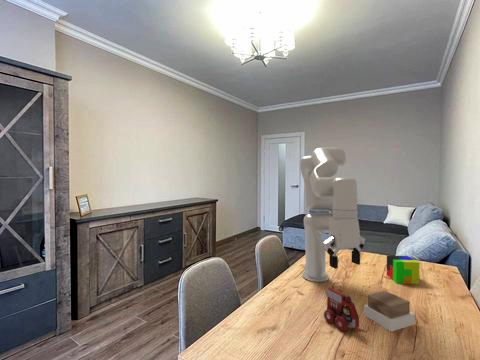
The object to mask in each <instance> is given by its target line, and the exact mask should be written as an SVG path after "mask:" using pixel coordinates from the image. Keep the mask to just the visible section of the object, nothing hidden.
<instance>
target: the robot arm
mask: <svg viewBox="0 0 480 360" xmlns="http://www.w3.org/2000/svg"><path fill="white" fill-rule="evenodd" d="M346 160H347V154H346V152H345V150H344V149H343V148H341V147H339V146H338V147H335V146H334V147H318V148H316V149H314V150H312V153H311V155H306V156H303V157H302V158H301V159H300V164H299V165H300V168H299V169H300V172H301V175H302V178H303V181H304V187H305V188H304V189H305V190H304V192H305V193H304V194H305V205H306V208H307V209H308V210H309V211H328V212H327V213H322V212H315V213H314V212H313V213H312V212H311V213H307V214H305V216H304V217H303V228H304V235H305V236H304V237H305V238H304V239H305V264H304V265H302V268H303V269H304V271H303V272H302V278H303V279H305V280H306V279H307V281H310V282H315V283H322V282H327V281H329V279H330V278H329V277H330V275H329V274H328V273H327V272H326V271H327V270H326V268H327V267H326V263H327V261H326V257H327V256H326V253H327V255H329V267H331V268H333V269H337V270H338V268H339V262H338V261H339V256H337V255H338V253H339V252H340V251H344V250H351V263H353V264H355V265H358V266H359V265H361V253H362V251H363V250H362V249H363V248H364V244H365V242H366V238H364V237H363V236H361V235H360V234H361V231H360V224H359V222H360V221H359V218H358V214H359V211H358V181H357V179H356V178H354V177H344V176H342V177H341V176H337V177H335V175H336V174H337V173H338V171H339V170H340V169H341V168H343V167H344V165H345V164H346ZM321 234H328V238H327V239H326V240H325V239H324V237H323V236H322V235H321Z"/></svg>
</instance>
